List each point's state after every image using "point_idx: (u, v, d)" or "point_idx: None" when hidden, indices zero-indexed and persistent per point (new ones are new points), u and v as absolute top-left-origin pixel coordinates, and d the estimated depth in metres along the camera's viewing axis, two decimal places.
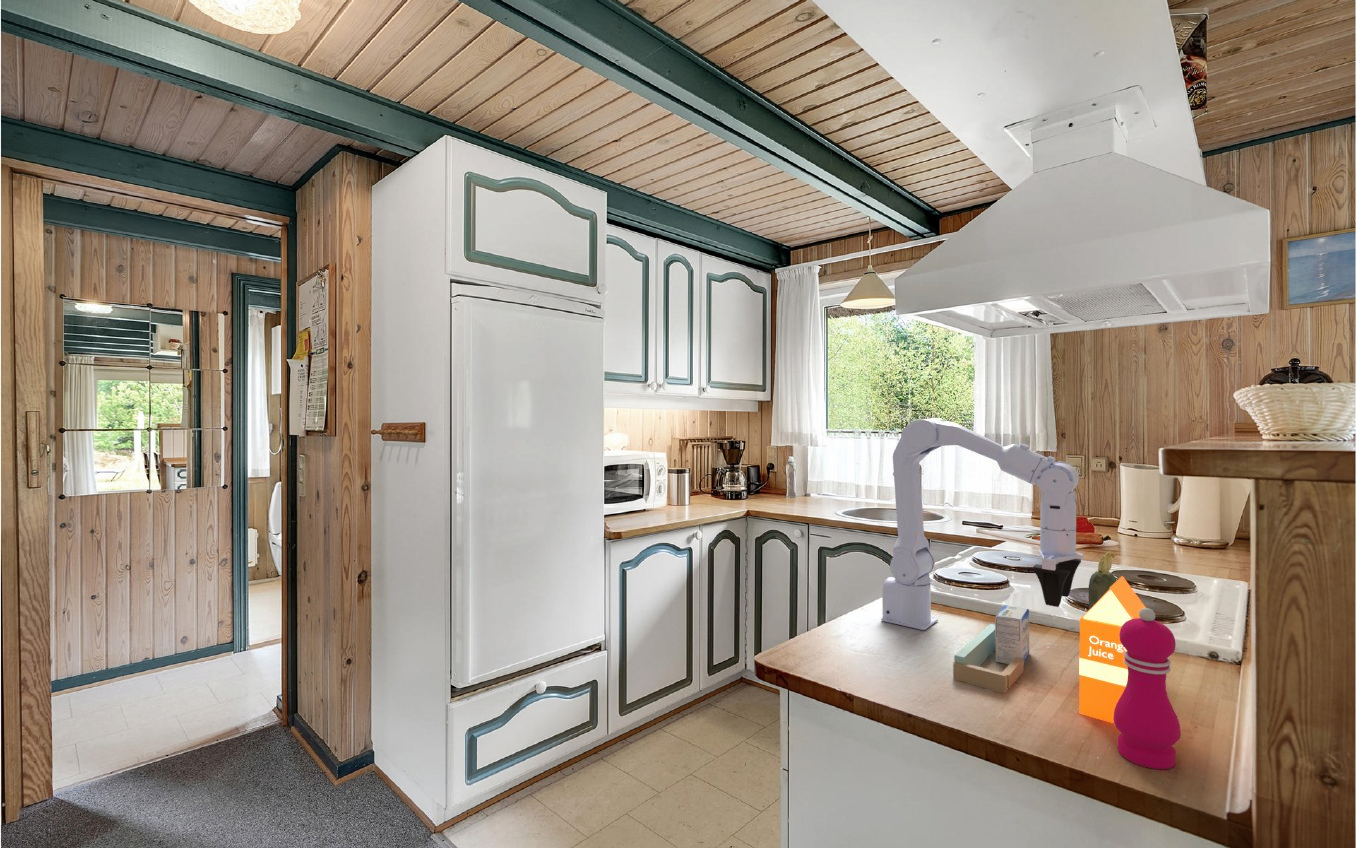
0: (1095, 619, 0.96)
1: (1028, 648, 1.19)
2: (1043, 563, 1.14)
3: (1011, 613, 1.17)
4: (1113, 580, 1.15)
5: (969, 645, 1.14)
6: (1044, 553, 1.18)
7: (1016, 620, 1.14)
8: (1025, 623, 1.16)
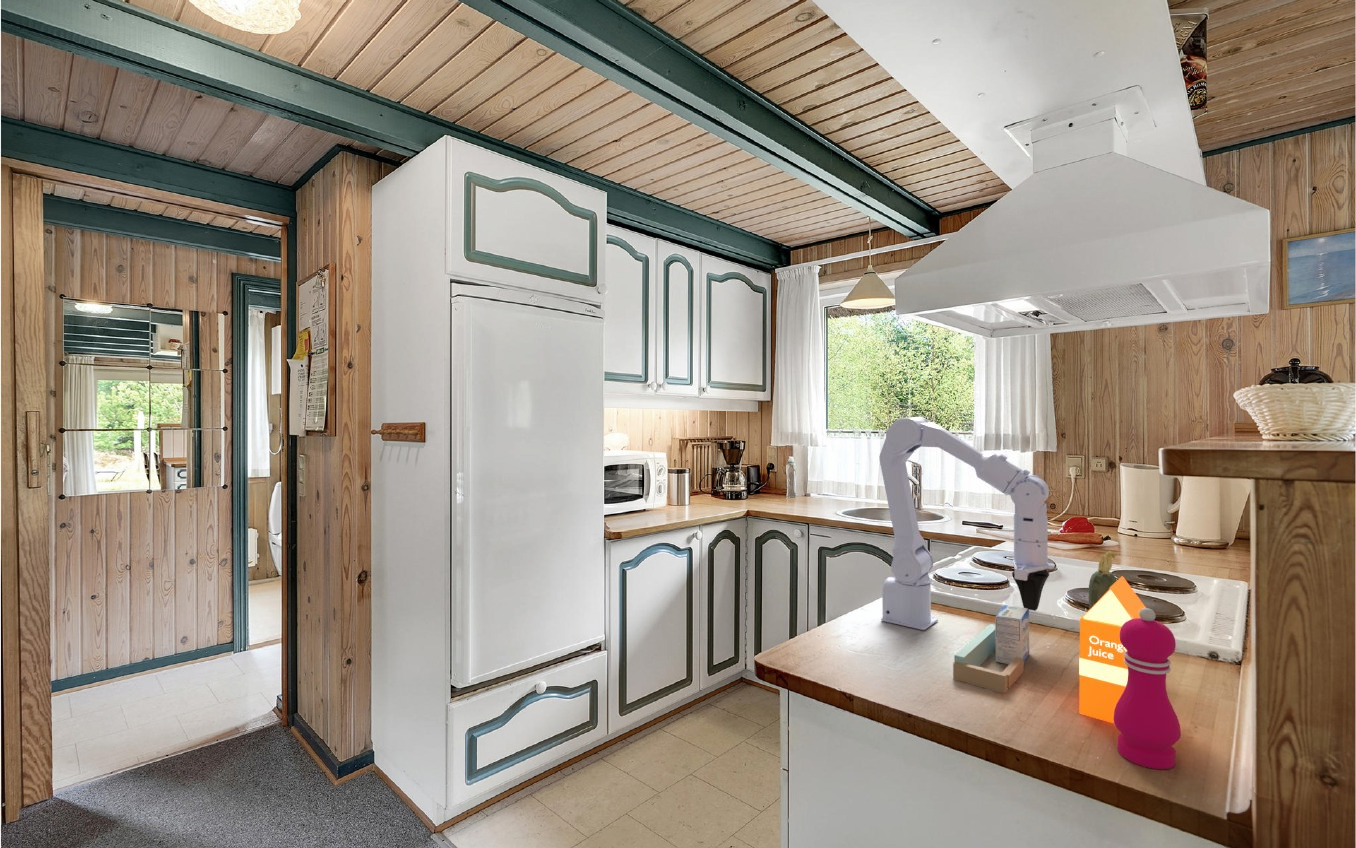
0: (1095, 619, 0.96)
1: (1028, 648, 1.19)
2: (1015, 573, 1.19)
3: (1011, 613, 1.17)
4: (1113, 580, 1.15)
5: (969, 645, 1.14)
6: (1017, 563, 1.23)
7: (1016, 620, 1.14)
8: (1025, 623, 1.16)
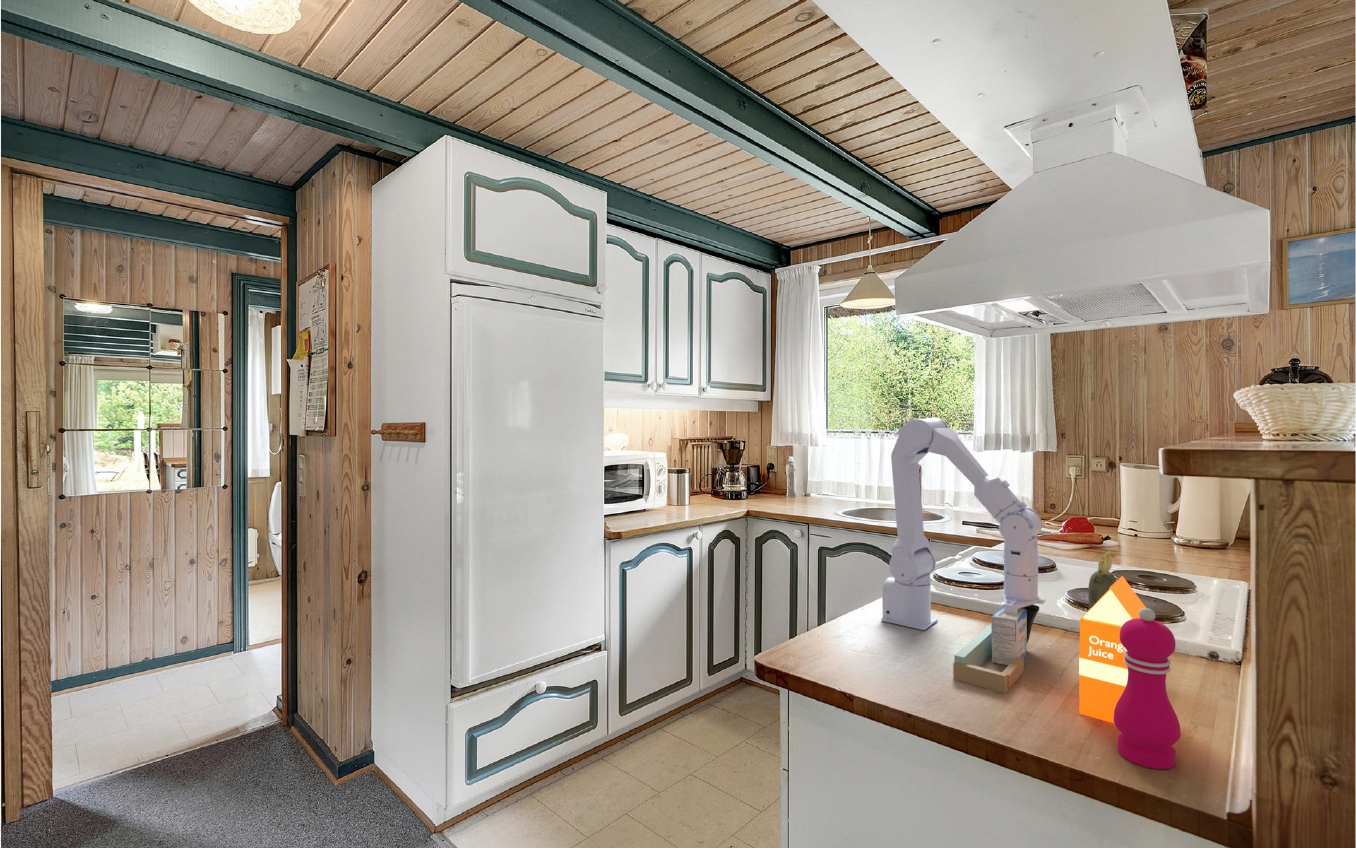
0: (1095, 619, 0.96)
1: (1025, 649, 1.18)
2: (1005, 609, 1.17)
3: (1007, 614, 1.16)
4: (1113, 580, 1.15)
5: (969, 645, 1.14)
6: (1007, 597, 1.21)
7: (1012, 621, 1.13)
8: (1022, 624, 1.16)
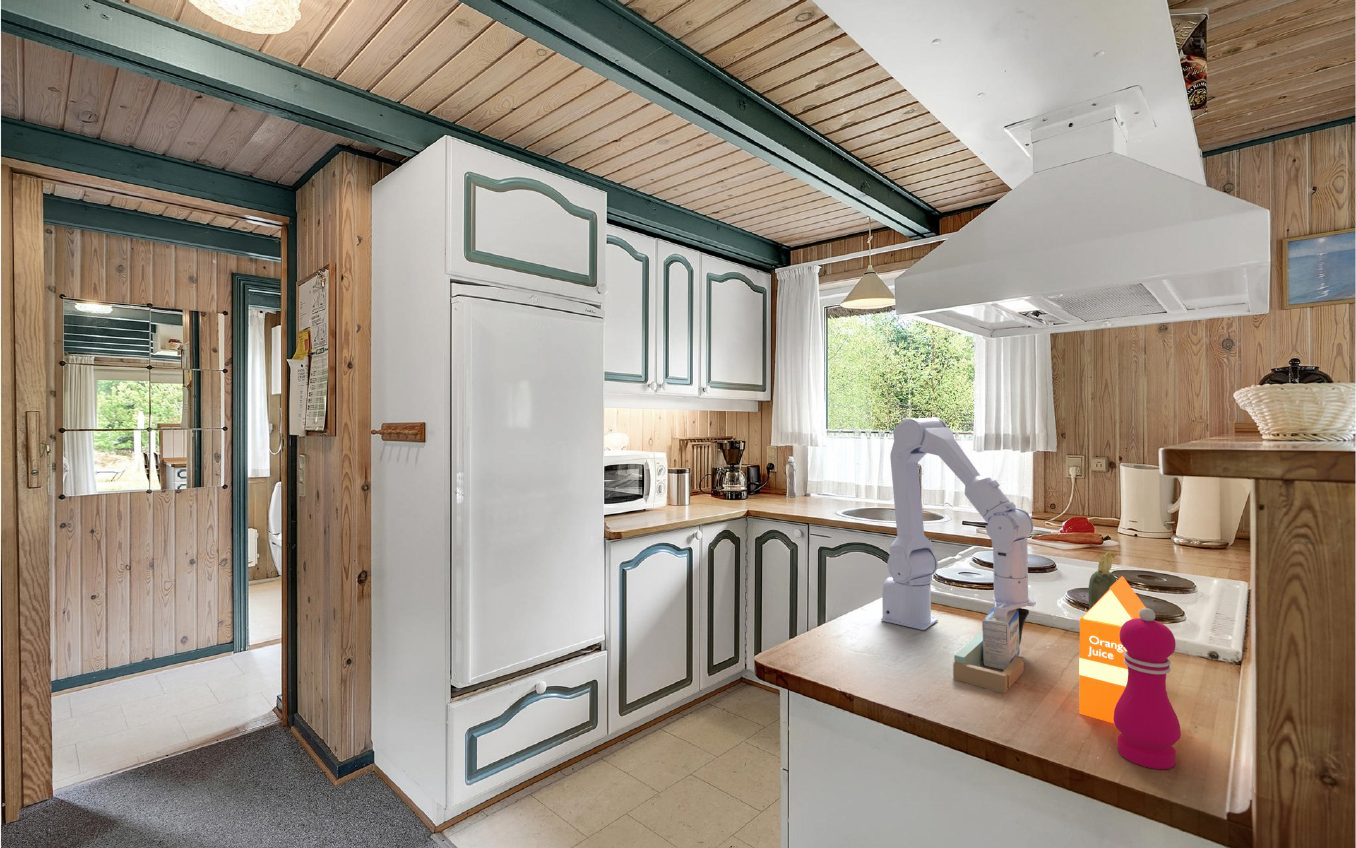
0: (1095, 619, 0.96)
1: (1018, 650, 1.17)
2: (995, 612, 1.14)
3: None
4: (1113, 580, 1.15)
5: (969, 645, 1.14)
6: (997, 600, 1.19)
7: (1003, 625, 1.12)
8: (1013, 626, 1.14)
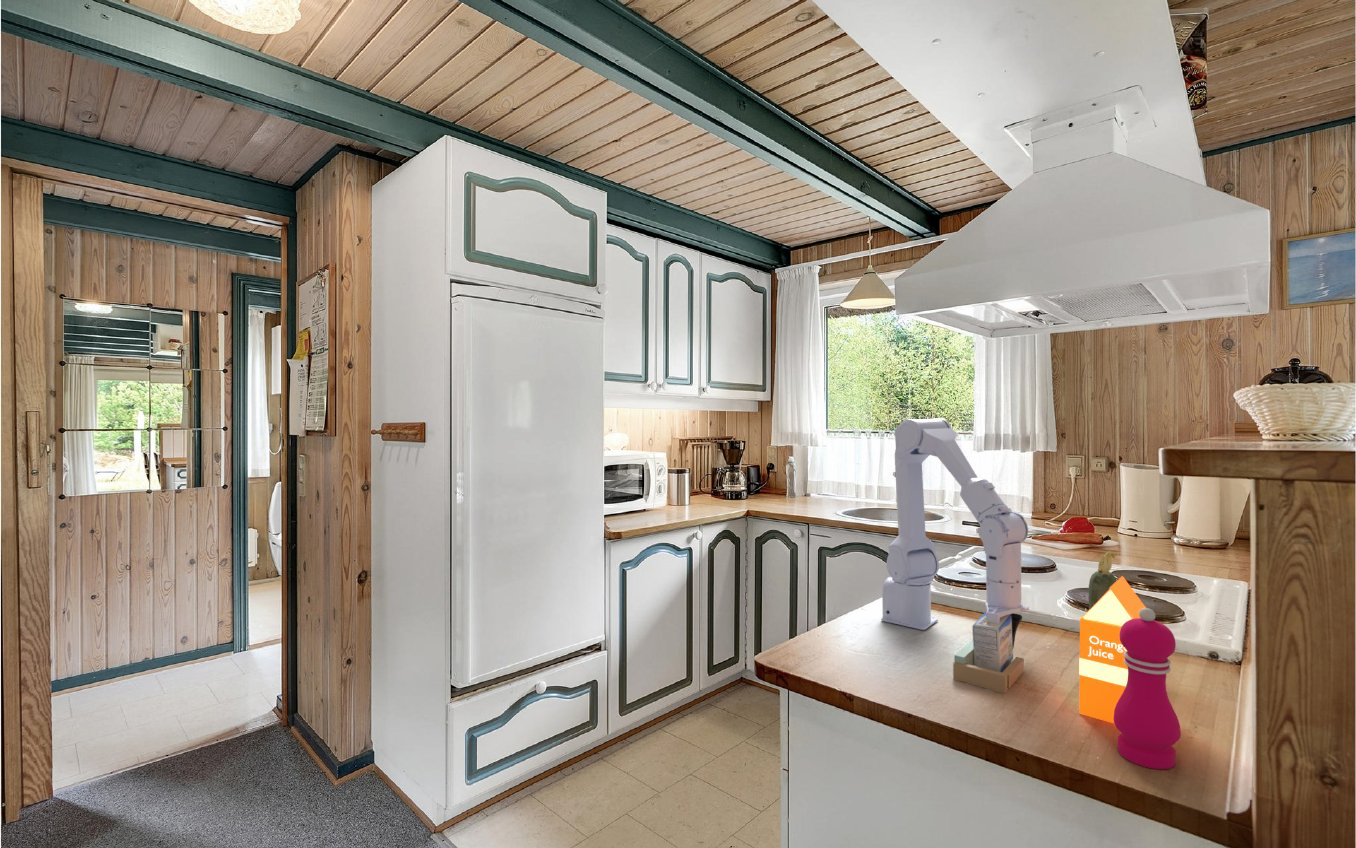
0: (1095, 619, 0.96)
1: (1011, 655, 1.14)
2: (987, 617, 1.12)
3: None
4: (1113, 580, 1.15)
5: (969, 645, 1.14)
6: (990, 605, 1.16)
7: (993, 630, 1.09)
8: (1005, 631, 1.11)
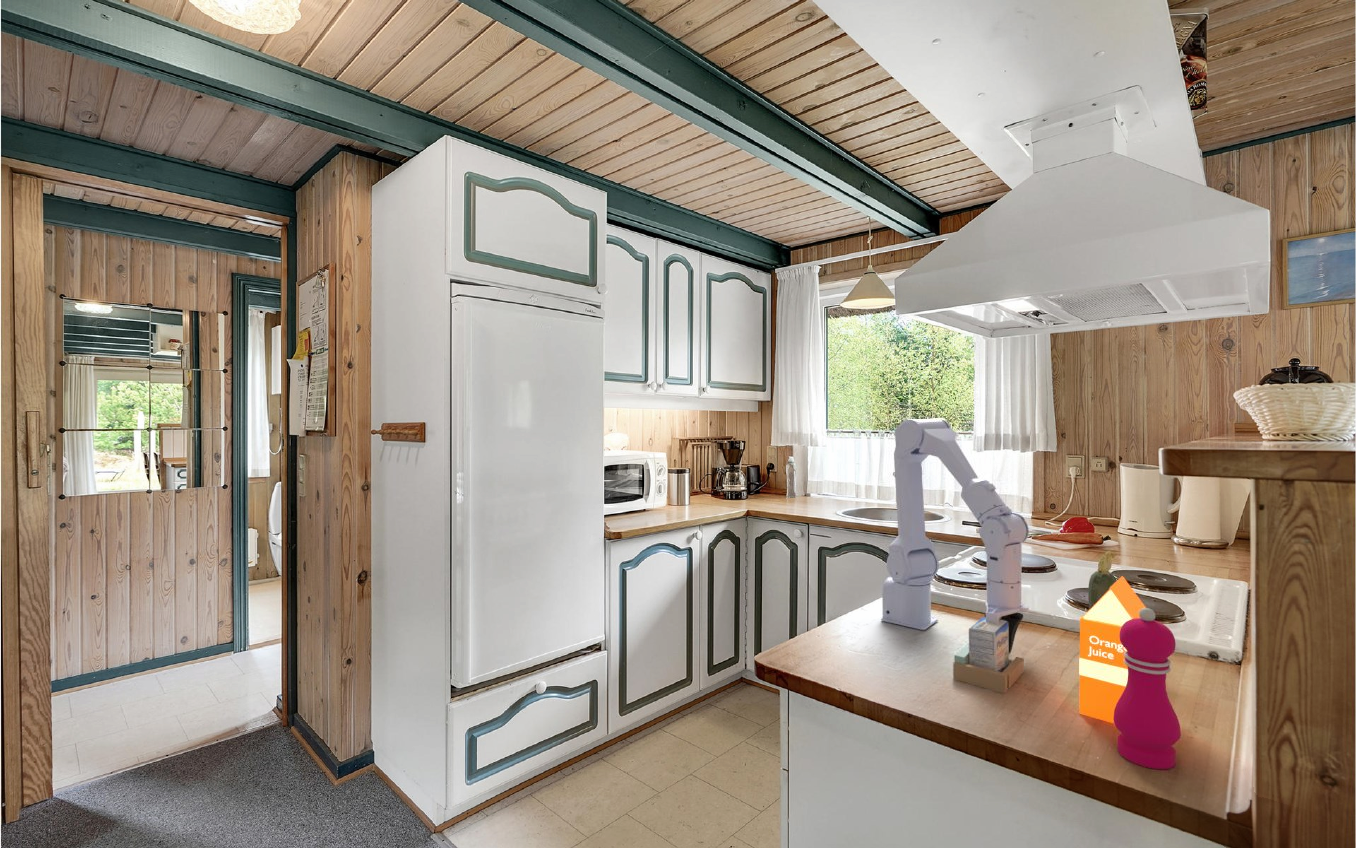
0: (1095, 619, 0.96)
1: (1007, 663, 1.12)
2: (987, 617, 1.13)
3: (986, 626, 1.11)
4: (1113, 580, 1.15)
5: None
6: (990, 605, 1.17)
7: (990, 633, 1.08)
8: (1001, 637, 1.10)
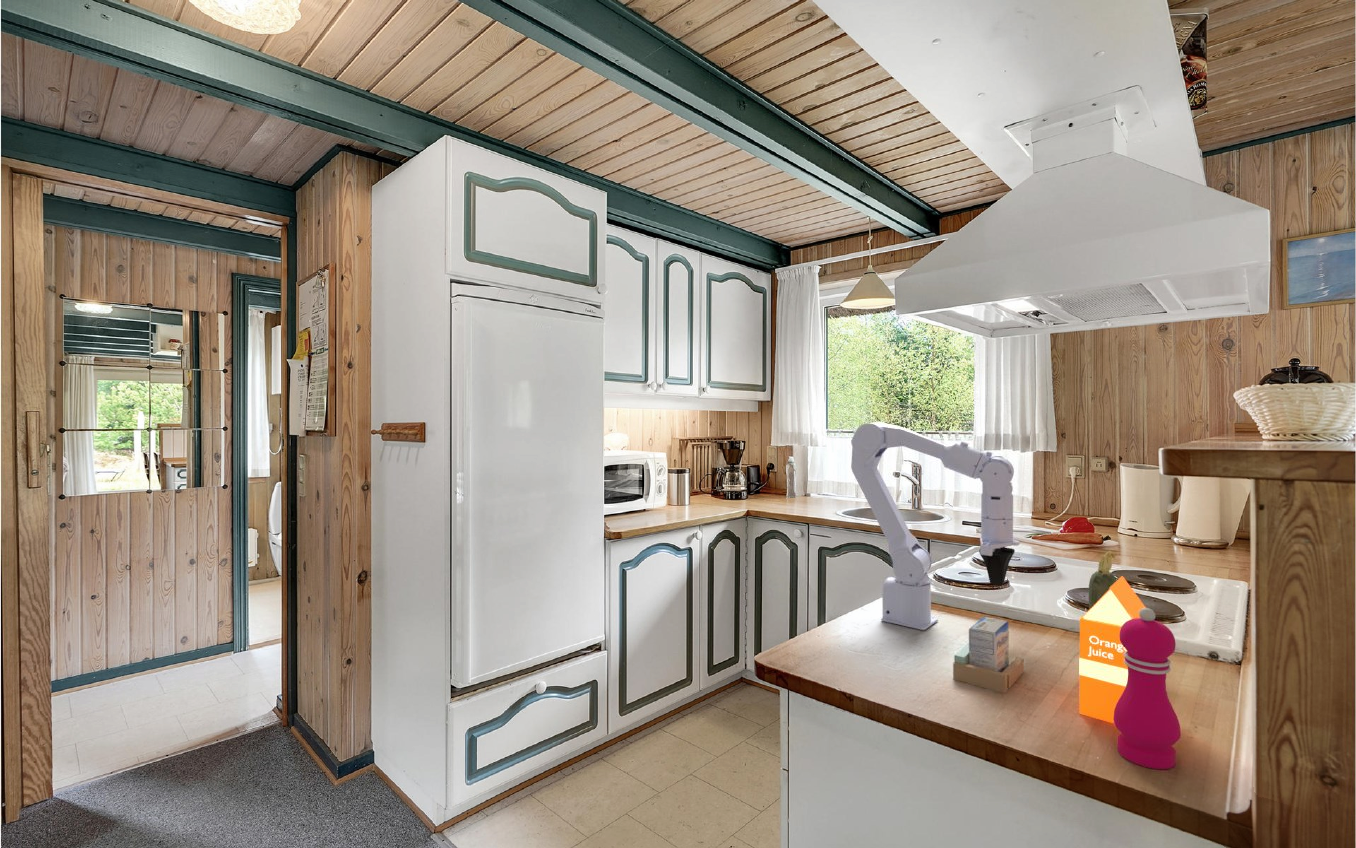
0: (1095, 619, 0.96)
1: (1007, 663, 1.12)
2: (981, 549, 1.24)
3: (986, 626, 1.11)
4: (1113, 580, 1.15)
5: None
6: (984, 540, 1.28)
7: (990, 633, 1.08)
8: (1001, 637, 1.10)
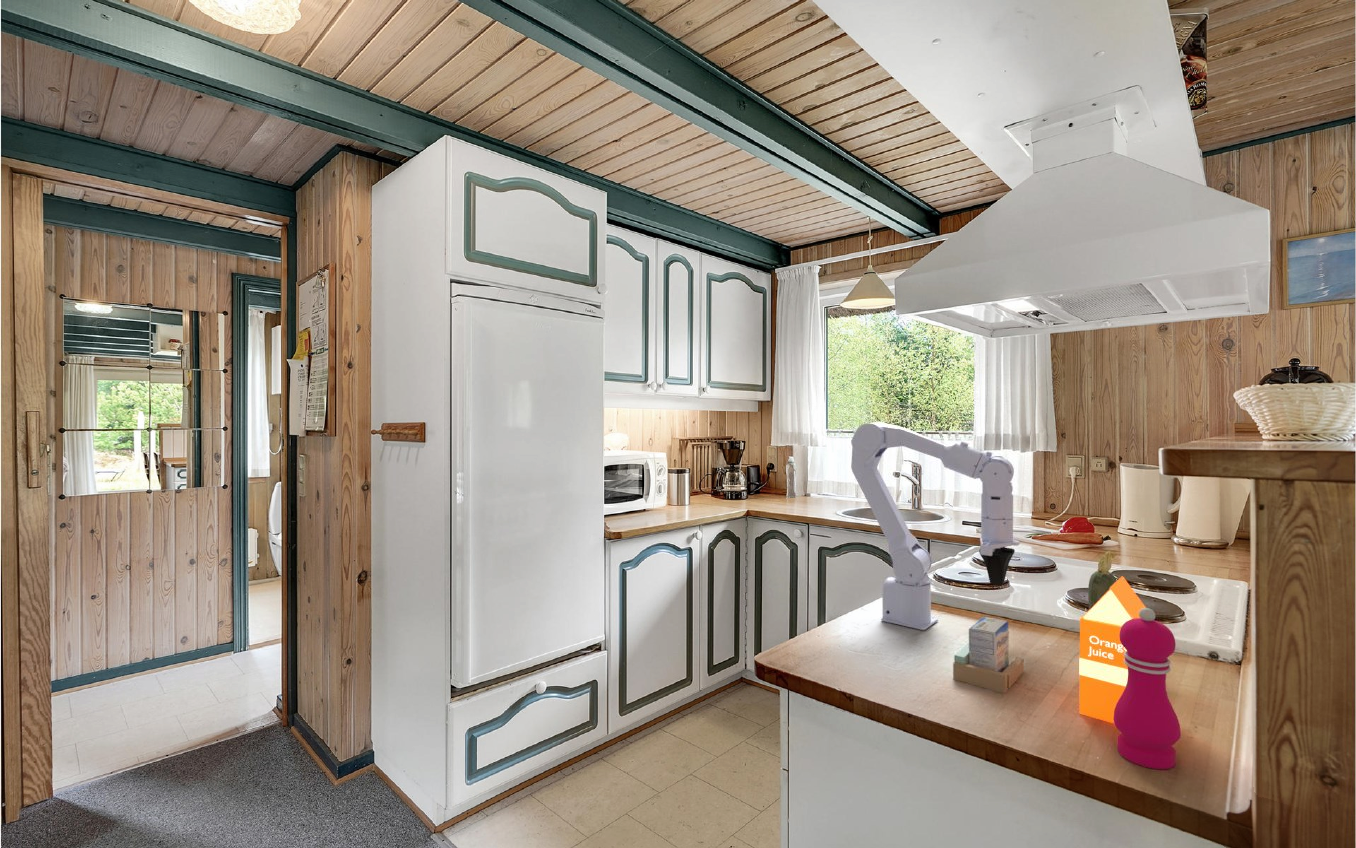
0: (1095, 619, 0.96)
1: (1007, 663, 1.12)
2: (981, 549, 1.24)
3: (986, 626, 1.11)
4: (1113, 580, 1.15)
5: None
6: (984, 540, 1.28)
7: (990, 633, 1.08)
8: (1001, 637, 1.10)
